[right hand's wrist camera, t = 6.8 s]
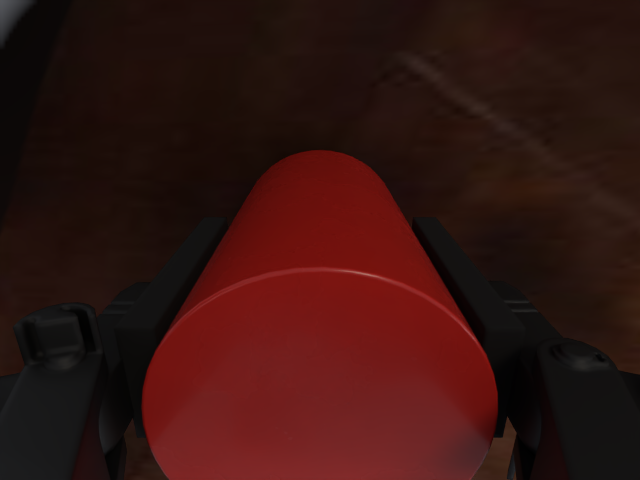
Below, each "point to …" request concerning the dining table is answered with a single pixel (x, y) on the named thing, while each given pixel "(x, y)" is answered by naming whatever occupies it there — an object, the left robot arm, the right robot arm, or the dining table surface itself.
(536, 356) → the right robot arm
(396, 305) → the tin
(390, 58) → the dining table surface
